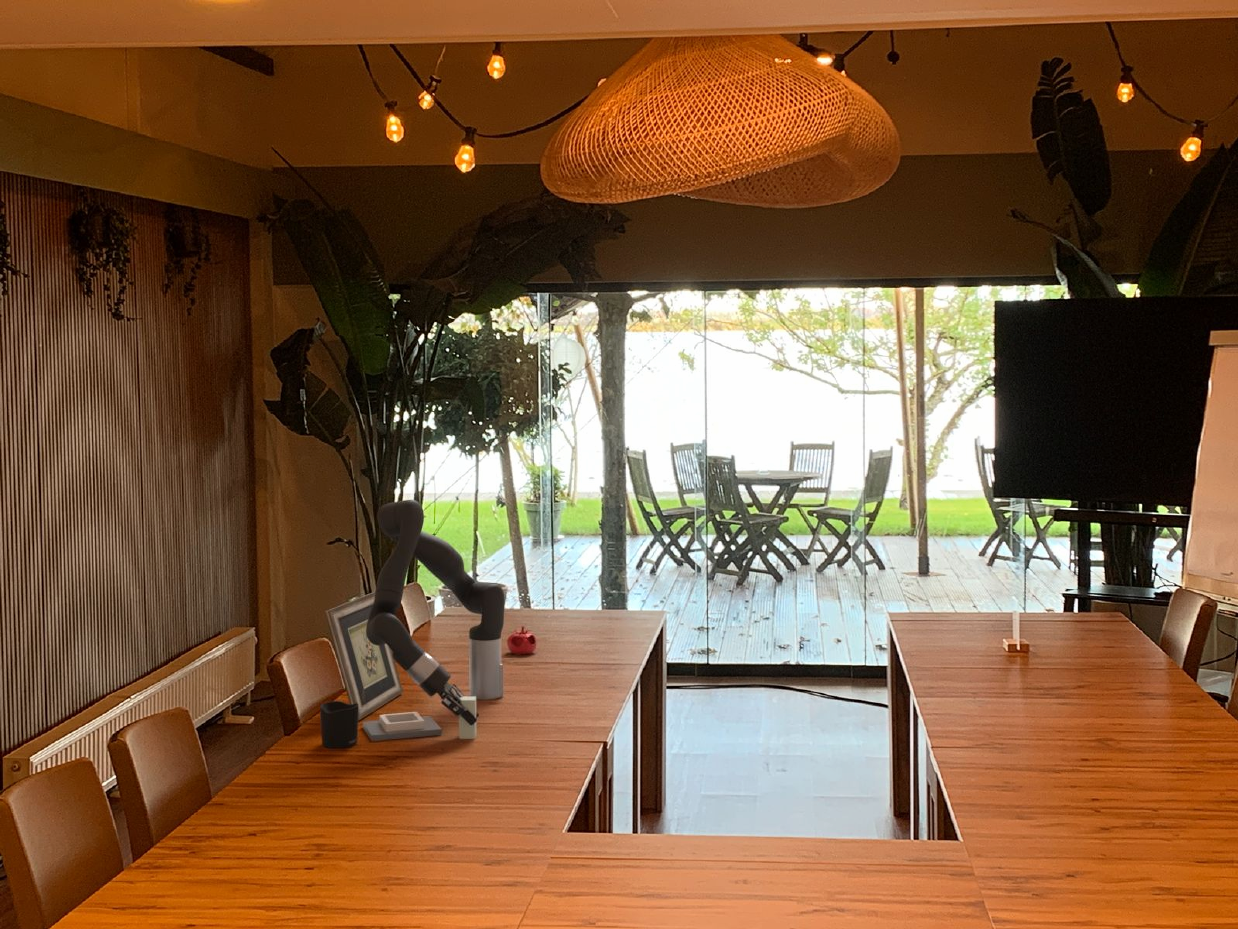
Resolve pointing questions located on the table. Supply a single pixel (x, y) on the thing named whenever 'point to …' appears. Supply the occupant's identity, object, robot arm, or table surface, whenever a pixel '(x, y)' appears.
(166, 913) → the table surface
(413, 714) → the grey base with frame
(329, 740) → the pen holder
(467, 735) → the sage block
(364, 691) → the picture frame
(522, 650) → the pomegranate
